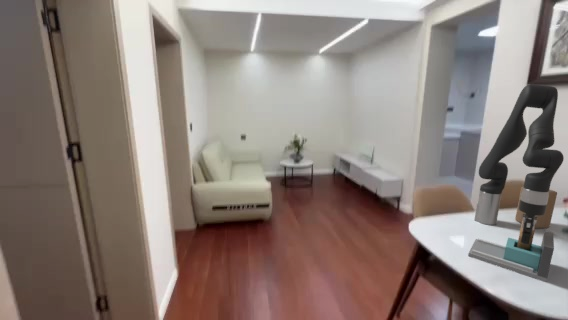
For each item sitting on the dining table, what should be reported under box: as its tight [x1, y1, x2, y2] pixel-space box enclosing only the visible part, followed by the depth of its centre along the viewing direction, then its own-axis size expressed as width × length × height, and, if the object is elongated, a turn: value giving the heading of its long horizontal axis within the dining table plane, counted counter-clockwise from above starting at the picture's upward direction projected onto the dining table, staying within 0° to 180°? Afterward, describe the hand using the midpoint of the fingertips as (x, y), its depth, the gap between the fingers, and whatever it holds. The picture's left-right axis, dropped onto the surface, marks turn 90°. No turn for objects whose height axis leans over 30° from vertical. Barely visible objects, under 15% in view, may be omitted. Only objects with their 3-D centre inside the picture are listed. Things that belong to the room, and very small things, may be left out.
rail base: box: [467, 230, 555, 283], centre depth 107 cm, size 24×16×14 cm
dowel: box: [517, 220, 536, 251], centre depth 102 cm, size 4×4×13 cm
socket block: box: [503, 237, 541, 271], centre depth 104 cm, size 10×10×6 cm
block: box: [514, 185, 558, 229], centre depth 135 cm, size 10×10×20 cm
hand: (524, 240), depth 103 cm, fingers closed on dowel, 3 cm apart
